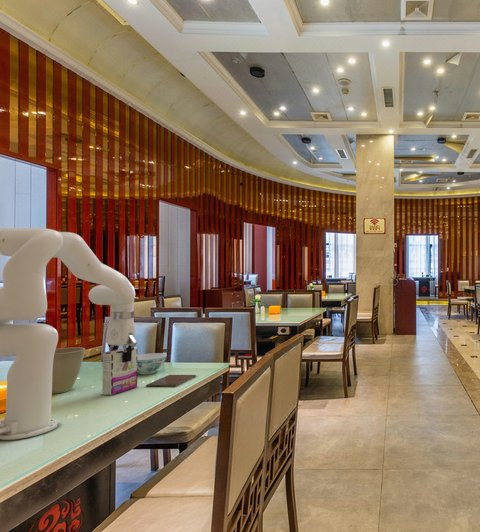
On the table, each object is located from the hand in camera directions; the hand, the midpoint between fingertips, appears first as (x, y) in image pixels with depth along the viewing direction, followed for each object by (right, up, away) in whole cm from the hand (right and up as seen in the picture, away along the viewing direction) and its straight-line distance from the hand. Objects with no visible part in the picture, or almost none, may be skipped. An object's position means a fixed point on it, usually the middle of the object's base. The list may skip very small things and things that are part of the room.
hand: (120, 360), depth 148 cm
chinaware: (-8, -13, +27) cm, 31 cm away
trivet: (+12, -12, +14) cm, 22 cm away
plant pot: (-23, -12, -1) cm, 26 cm away
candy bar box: (0, -12, 0) cm, 12 cm away
